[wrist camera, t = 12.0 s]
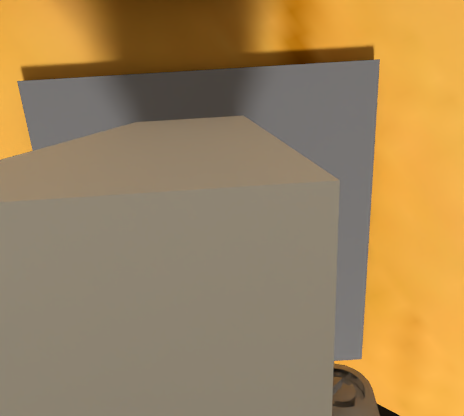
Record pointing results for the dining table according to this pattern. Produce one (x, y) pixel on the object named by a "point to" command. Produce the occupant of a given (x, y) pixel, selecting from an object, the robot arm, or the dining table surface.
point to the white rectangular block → (168, 274)
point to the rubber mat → (261, 113)
